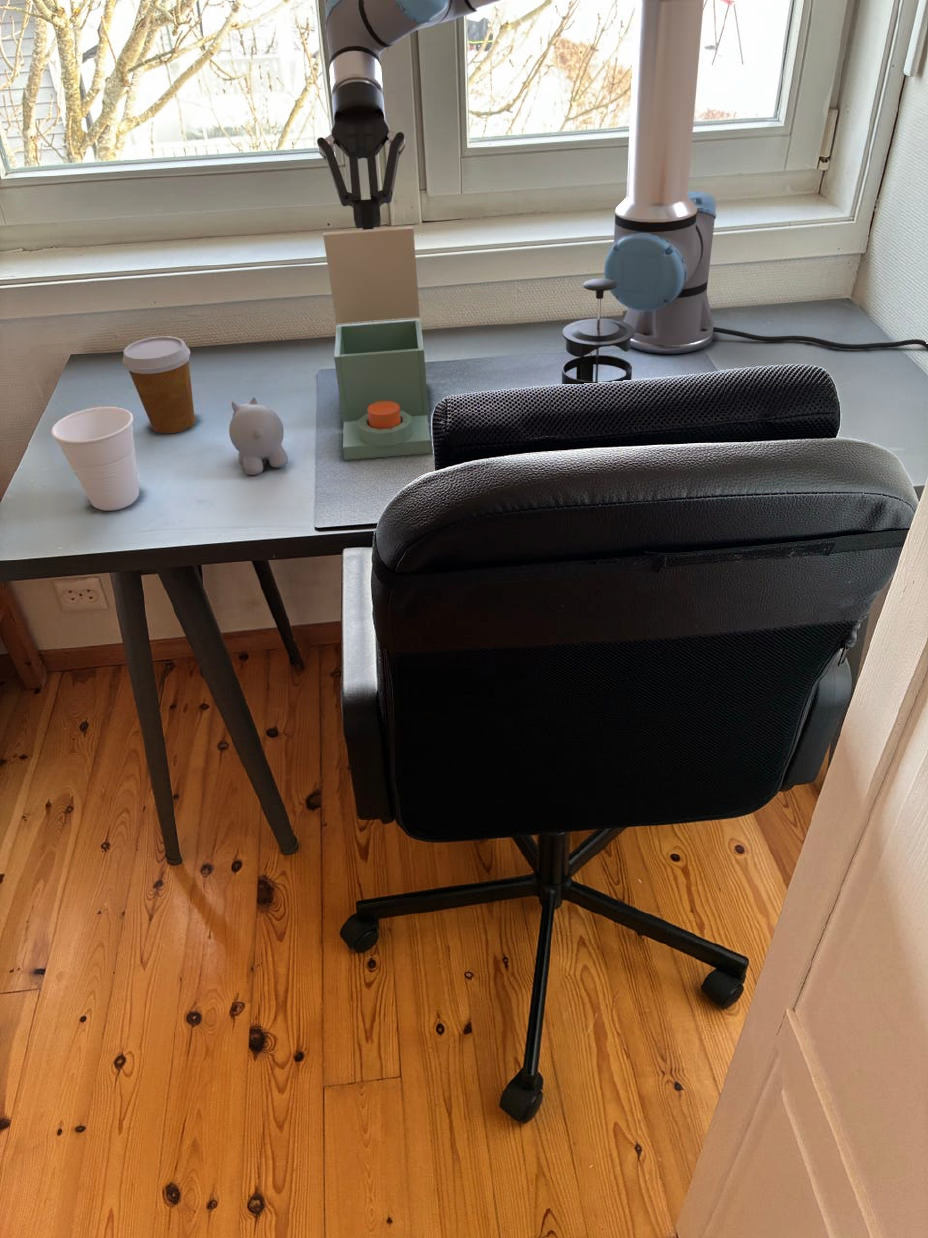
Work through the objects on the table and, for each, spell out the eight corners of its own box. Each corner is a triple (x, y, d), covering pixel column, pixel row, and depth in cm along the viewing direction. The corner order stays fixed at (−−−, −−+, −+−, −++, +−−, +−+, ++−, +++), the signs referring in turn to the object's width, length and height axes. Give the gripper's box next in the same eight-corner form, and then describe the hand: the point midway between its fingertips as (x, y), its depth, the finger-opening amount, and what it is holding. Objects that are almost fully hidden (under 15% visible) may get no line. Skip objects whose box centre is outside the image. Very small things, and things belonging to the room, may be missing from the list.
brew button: (400, 415, 132) (398, 399, 131) (401, 429, 128) (399, 413, 127) (369, 417, 132) (367, 402, 130) (369, 431, 128) (367, 415, 127)
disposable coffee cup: (131, 424, 142) (109, 347, 135) (188, 405, 147) (170, 329, 139) (158, 445, 136) (137, 365, 129) (217, 424, 141) (199, 346, 134)
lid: (413, 228, 131) (413, 225, 132) (323, 234, 131) (323, 232, 131) (419, 316, 141) (419, 314, 142) (336, 323, 141) (336, 320, 141)
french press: (639, 465, 124) (652, 291, 110) (570, 474, 123) (574, 299, 109) (612, 427, 134) (621, 261, 120) (548, 435, 133) (549, 269, 119)
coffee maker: (429, 420, 138) (424, 349, 132) (343, 427, 138) (334, 356, 131) (425, 386, 148) (420, 318, 142) (345, 392, 148) (336, 324, 141)
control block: (428, 427, 136) (426, 401, 134) (431, 455, 130) (429, 428, 127) (345, 434, 136) (342, 408, 134) (344, 462, 129) (340, 435, 127)
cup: (61, 507, 123) (33, 430, 116) (121, 475, 129) (98, 400, 123) (110, 527, 118) (85, 448, 112) (170, 492, 125) (149, 416, 118)
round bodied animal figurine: (274, 434, 137) (264, 379, 132) (295, 469, 128) (284, 411, 123) (225, 445, 135) (213, 389, 130) (243, 481, 126) (230, 423, 121)
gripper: (403, 110, 142) (415, 257, 139) (316, 116, 141) (327, 263, 138) (400, 75, 134) (414, 229, 131) (309, 81, 134) (320, 236, 131)
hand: (369, 246), depth 135 cm, fingers closed
